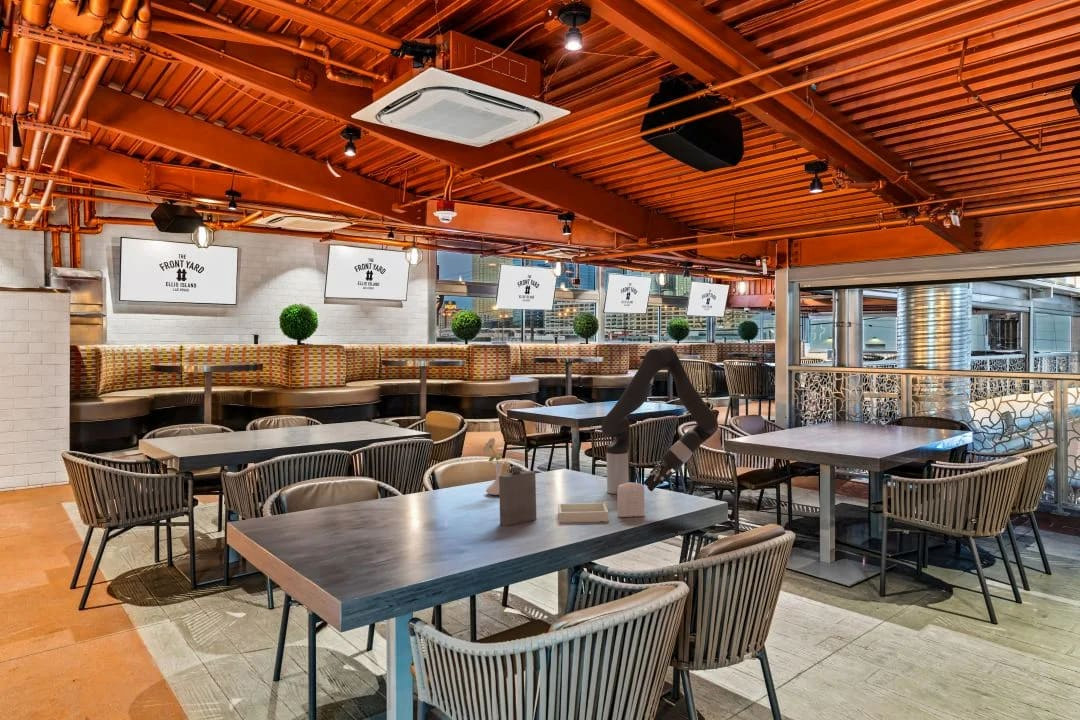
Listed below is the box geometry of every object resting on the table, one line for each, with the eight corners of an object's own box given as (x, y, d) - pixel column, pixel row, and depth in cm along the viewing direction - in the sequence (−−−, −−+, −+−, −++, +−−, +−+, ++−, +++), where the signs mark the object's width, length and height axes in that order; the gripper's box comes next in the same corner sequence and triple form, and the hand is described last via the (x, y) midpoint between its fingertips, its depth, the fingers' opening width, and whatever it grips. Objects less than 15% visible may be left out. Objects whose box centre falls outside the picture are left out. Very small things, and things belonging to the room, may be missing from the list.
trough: (558, 513, 250) (558, 503, 250) (604, 511, 250) (604, 502, 250) (559, 522, 236) (559, 512, 236) (608, 521, 236) (608, 511, 236)
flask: (530, 516, 245) (528, 463, 245) (539, 519, 241) (537, 465, 240) (496, 523, 237) (494, 468, 236) (504, 526, 232) (503, 470, 232)
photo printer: (642, 513, 246) (642, 481, 246) (646, 516, 242) (645, 483, 241) (616, 515, 244) (615, 482, 244) (619, 518, 240) (618, 484, 240)
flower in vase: (501, 490, 292) (499, 434, 292) (517, 494, 284) (516, 436, 283) (477, 495, 283) (476, 437, 283) (494, 499, 275) (492, 439, 275)
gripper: (666, 445, 250) (636, 476, 250) (674, 451, 235) (642, 484, 236) (680, 459, 250) (650, 489, 250) (689, 466, 236) (657, 498, 236)
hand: (647, 487), depth 243 cm, fingers open, 8 cm apart
